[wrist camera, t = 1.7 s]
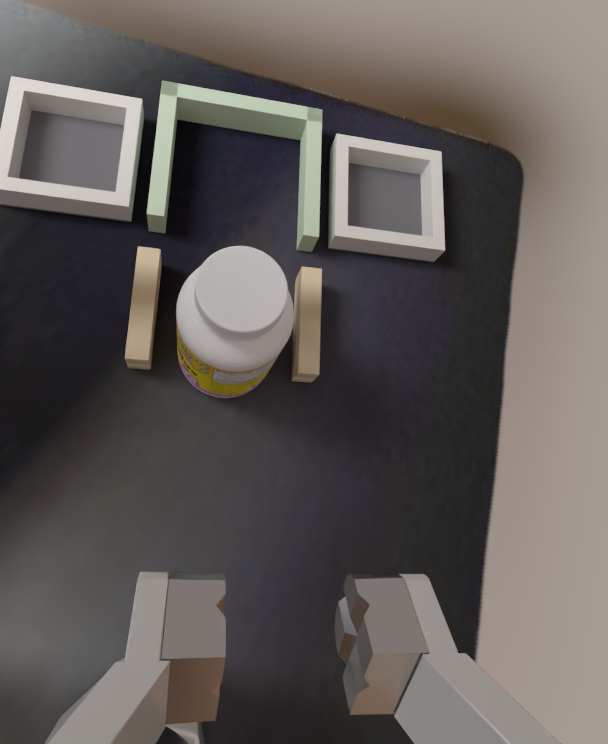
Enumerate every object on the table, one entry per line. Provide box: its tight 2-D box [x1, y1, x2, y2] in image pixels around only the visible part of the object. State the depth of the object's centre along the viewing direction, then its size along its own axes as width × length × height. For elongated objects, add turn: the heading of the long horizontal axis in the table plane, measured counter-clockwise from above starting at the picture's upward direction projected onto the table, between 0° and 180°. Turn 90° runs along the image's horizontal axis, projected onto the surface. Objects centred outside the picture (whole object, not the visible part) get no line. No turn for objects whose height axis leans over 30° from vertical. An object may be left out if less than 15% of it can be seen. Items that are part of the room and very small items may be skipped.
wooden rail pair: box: [125, 246, 322, 383], centre depth 39 cm, size 8×13×2 cm, turn 88°
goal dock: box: [147, 81, 322, 252], centre depth 42 cm, size 11×12×2 cm
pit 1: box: [0, 76, 144, 222], centre depth 39 cm, size 9×9×2 cm
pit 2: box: [328, 134, 445, 263], centre depth 44 cm, size 9×9×2 cm
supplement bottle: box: [176, 246, 294, 398], centre depth 33 cm, size 7×7×13 cm
